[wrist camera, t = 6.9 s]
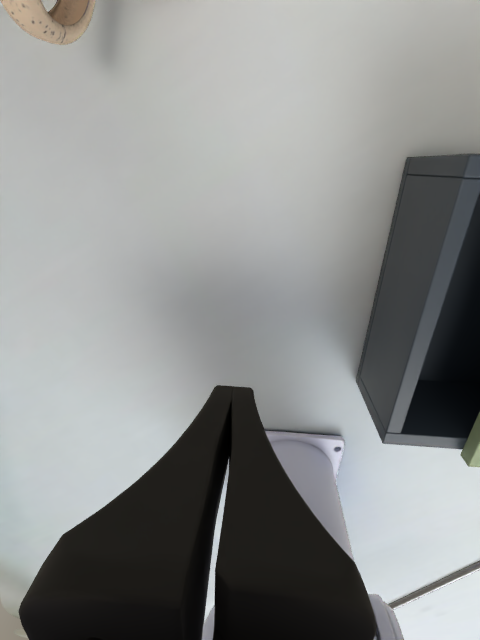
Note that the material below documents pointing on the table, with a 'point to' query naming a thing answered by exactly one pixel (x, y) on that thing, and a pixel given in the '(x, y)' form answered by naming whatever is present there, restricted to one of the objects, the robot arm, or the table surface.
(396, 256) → the bin
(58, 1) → the teacup with lid
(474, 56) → the table surface
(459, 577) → the rod
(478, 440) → the lid
